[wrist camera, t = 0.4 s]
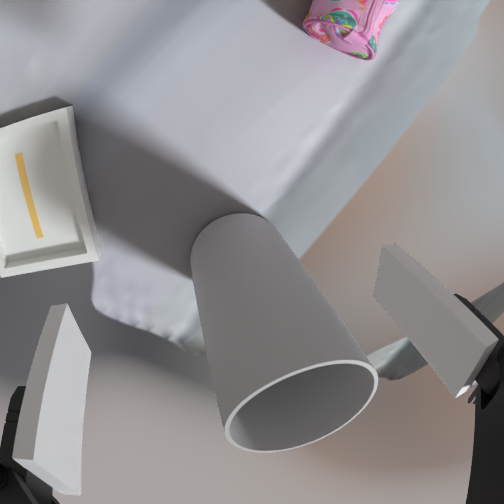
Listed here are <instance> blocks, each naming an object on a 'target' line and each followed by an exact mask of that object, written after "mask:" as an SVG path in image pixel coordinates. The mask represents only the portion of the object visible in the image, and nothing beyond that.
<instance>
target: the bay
mask: <svg viewBox="0 0 504 504" xmlns="http://www.w3.org/2000/svg"><path fill="white" fill-rule="evenodd" d="M101 253H102V248H101V244H100V240H99V237H98V233H97V229H96V225H95V221H94V217H93V213H92V209H91V205H90V200H89V196H88V191H87V187H86V182H85V177H84V172H83V167H82V162H81V156H80V151H79V145H78V139H77V132H76V125H75V118H74V111H73V106H69V107H65V108H61V109H58V110H54V111H51V112H47V113H44V114H41V115H38V116H34V117H31V118H28V119H25V120H22V121H19V122H16V123H14V124H11V125H8V126H5V127H3V128H0V276H1V278H2V277H8V276H13V275H18V274H24V273H29V272H35V271H41V270H46V269H52V268H57V267H63V266H69V265H74V264H81V263H86V262H92V261H98V260H99V259H100V256H101Z"/></svg>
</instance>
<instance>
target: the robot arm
mask: <svg viewBox="0 0 504 504" xmlns="http://www.w3.org/2000/svg"><path fill="white" fill-rule="evenodd" d="M373 297H374V298H375V299H376V300H377V302H378V303H379V304H380V305H381V306H382V307H383V309H384V310H385V311H386V312H387V313H388V315H389V316H390V317H391V318H392V319H393V320H394V322H395V323H396V324H397V325H398V326H399V328H400V329H401V330H402V331H403V332H404V334H405V335H406V336H407V337H408V339H409V340H410V341H411V342H412V344H413V345H414V346H415V347H416V349H417V350H418V351H419V352H420V354H421V355H422V356H423V357H424V359H425V360H426V361H427V362H428V364H429V365H430V366H431V367H432V369H433V370H434V371H435V373H436V374H437V375H438V376H439V378H440V379H441V380H442V382H443V383H444V384H445V386H446V387H447V388H448V389H449V391H450V392H451V393H452V395H453V396H454V397H455V398H456V397H458V396H459V395H461V394H462V393H464V392H466V391H467V390H468V389H469V388H470V387H471V385H472V384H473V382H474V380H475V381H476V382H477V383H478V386H477V387H476V389H475V390H474V391H473V393H472V394H471V396H470V397H469V399H468V403H470V402H471V401H472V400H473V398H474V397H475V396H476V399H475V401H474V402H473V404H475V407H476V408H475V431H474V446H473V456H472V466H471V474H470V481H469V488H468V494H467V499H466V504H504V336H503V334H501V332H500V331H499V330H498V329H497V328H495V326H494V325H493V324H492V323H491V322H490V321H489V320H488V319H487V318H486V317H485V316H484V315H481V313H480V312H479V311H478V310H477V309H475V307H474V306H473V305H472V304H471V303H470V302H469V301H468V300H467V299H465V298H463V297H461V296H460V295H458V294H452V293H451V292H450V291H449V290H448V289H447V288H446V287H445V286H444V285H443V284H442V283H441V282H439V281H438V280H437V279H436V278H435V277H434V276H433V275H432V274H431V273H430V272H428V271H427V270H426V269H425V268H424V267H423V266H422V265H420V264H419V263H418V262H417V261H416V260H415V259H413V258H412V257H411V256H410V255H409V254H408V253H407V252H405V251H404V250H403V249H402V248H400V247H399V246H398V245H397V244H396V243H394V244H389V245H385V246H382V249H381V255H380V261H379V266H378V272H377V278H376V282H375V288H374V293H373ZM90 358H91V351H90V349H89V347H88V345H87V343H86V342H85V340H84V338H83V336H82V334H81V332H80V330H79V328H78V326H77V323H76V321H75V319H74V318H73V315H72V313H71V311H70V309H69V306H68V304H61V305H55V306H51V308H50V311H49V313H48V316H47V319H46V322H45V325H44V328H43V331H42V334H41V337H40V340H39V343H38V346H37V349H36V353H35V356H34V360H33V363H32V366H31V370H30V374H29V378H28V381H27V385H26V386H18V387H17V389H16V390H15V392H14V394H13V395H12V397H11V399H10V404H9V408H8V413H7V416H6V423H5V425H4V431H3V435H2V441H1V446H0V504H59V502H58V501H57V500H56V499H55V498H54V497H53V496H52V488H53V489H55V490H56V491H58V492H59V493H61V494H70V495H81V456H82V434H83V420H84V408H85V398H86V388H87V380H88V372H89V365H90Z"/></svg>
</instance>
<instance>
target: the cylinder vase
mask: <svg viewBox="0 0 504 504" xmlns="http://www.w3.org/2000/svg"><path fill="white" fill-rule="evenodd" d="M190 265H191V271H192V277H193V283H194V289H195V295H196V300H197V306H198V311H199V316H200V322H201V327H202V332H203V337H204V342H205V347H206V352H207V357H208V362H209V366H210V371H211V376H212V380H213V384H214V389H215V394H216V397H217V402H218V407H219V411H220V415H221V419H222V423H223V427H224V432H225V436H226V438H227V440H228V441H229V442H230V443H231V444H232V445H234V446H236V447H237V448H240V449H243V450H246V451H251V452H263V453H267V452H278V451H285V450H290V449H294V448H297V447H301V446H304V445H307V444H310V443H313V442H315V441H317V440H320V439H322V438H324V437H326V436H328V435H330V434H332V433H334V432H335V431H337V430H339V429H340V428H342V427H343V426H345V425H346V424H347V423H348V422H350V421H351V420H352V419H354V418H355V417H356V416H357V415H358V414H359V413H360V412H361V411H362V410H363V409H364V408H365V407H366V406H367V404H368V403H369V402H370V400H371V399H372V397H373V395H374V394H375V391H376V389H377V385H378V375H377V372H376V370H375V369H374V367H373V366H372V364H371V363H370V361H369V360H368V358H367V357H366V356H365V354H364V353H363V351H362V350H361V348H360V347H359V346H358V344H357V343H356V341H355V339H354V338H353V337H352V335H351V334H350V332H349V331H348V329H347V328H346V326H345V325H344V323H343V322H342V320H341V319H340V318H339V316H338V315H337V313H336V312H335V310H334V309H333V308H332V306H331V305H330V303H329V302H328V300H327V299H326V298H325V296H324V295H323V293H322V292H321V290H320V289H319V288H318V286H317V285H316V283H315V282H314V280H313V279H312V278H311V276H310V275H309V273H308V272H307V271H306V269H305V268H304V266H303V265H302V264H301V262H300V261H299V259H298V258H297V257H296V255H295V254H294V253H293V251H292V250H291V248H290V247H289V246H288V244H287V243H286V242H285V240H284V239H283V237H282V236H281V235H280V233H279V232H278V231H277V229H276V228H275V227H274V226H273V225H272V224H271V223H270V222H269V221H267V220H266V219H264V218H262V217H259V216H257V215H253V214H248V213H236V214H230V215H226V216H223V217H221V218H219V219H217V220H215V221H213V222H212V223H210V224H209V225H208V226H206V227H205V228H204V229H203V230H202V231H201V232H200V234H199V235H198V237H197V238H196V240H195V242H194V244H193V247H192V250H191V255H190Z"/></svg>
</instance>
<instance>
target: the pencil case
mask: <svg viewBox="0 0 504 504" xmlns="http://www.w3.org/2000/svg"><path fill="white" fill-rule="evenodd" d="M398 2H399V0H313V1H312V4H311V7H310V10H309V14H308V15H307V16H306V18H305V19H304V21H303V28H304V29H305V31H306V32H307V33H308V34H309V35H310V36H311V37H312V38H314V39H317V40H319V41H320V42H322V43H324V44H327V45H329V46H330V47H332V48H334V49H336V50H338V51H340V52H342V53H345V54H347V55H349V56H352V57H355V58H359V59H363V60H372V59H373V58H375V57H376V54H377V45H378V39H379V37H380V34H381V31H382V28H383V27H384V25H385V23H386V21H387V20H388V19H389V17H390V16H391V14H392V12H393V11H394V9H395V8H396V6H397V4H398Z"/></svg>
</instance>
